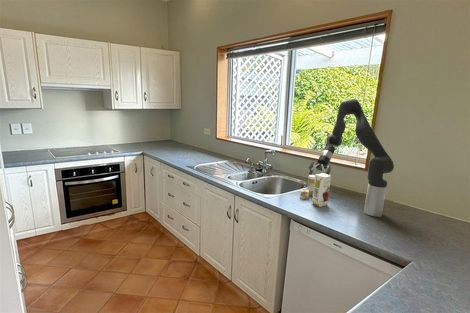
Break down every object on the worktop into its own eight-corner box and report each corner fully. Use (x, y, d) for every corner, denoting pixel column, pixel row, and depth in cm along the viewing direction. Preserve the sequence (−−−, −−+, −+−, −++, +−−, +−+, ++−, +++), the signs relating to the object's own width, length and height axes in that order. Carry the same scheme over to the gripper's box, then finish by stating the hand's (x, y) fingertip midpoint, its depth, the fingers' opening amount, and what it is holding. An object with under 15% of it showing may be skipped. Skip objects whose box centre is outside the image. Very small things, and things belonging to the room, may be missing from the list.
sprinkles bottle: (305, 193, 180) (307, 174, 177) (312, 193, 180) (314, 174, 177) (308, 195, 175) (310, 176, 173) (314, 196, 176) (316, 176, 173)
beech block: (307, 197, 174) (308, 189, 173) (308, 199, 169) (309, 192, 168) (300, 196, 175) (300, 188, 174) (300, 198, 170) (301, 191, 169)
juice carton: (310, 203, 162) (313, 174, 158) (319, 201, 167) (322, 172, 163) (320, 208, 156) (323, 177, 152) (329, 205, 161) (333, 175, 157)
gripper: (314, 153, 187) (304, 171, 181) (333, 156, 178) (324, 176, 172) (316, 159, 192) (307, 177, 186) (336, 163, 183) (326, 182, 177)
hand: (315, 176), depth 179 cm, fingers open, 8 cm apart
